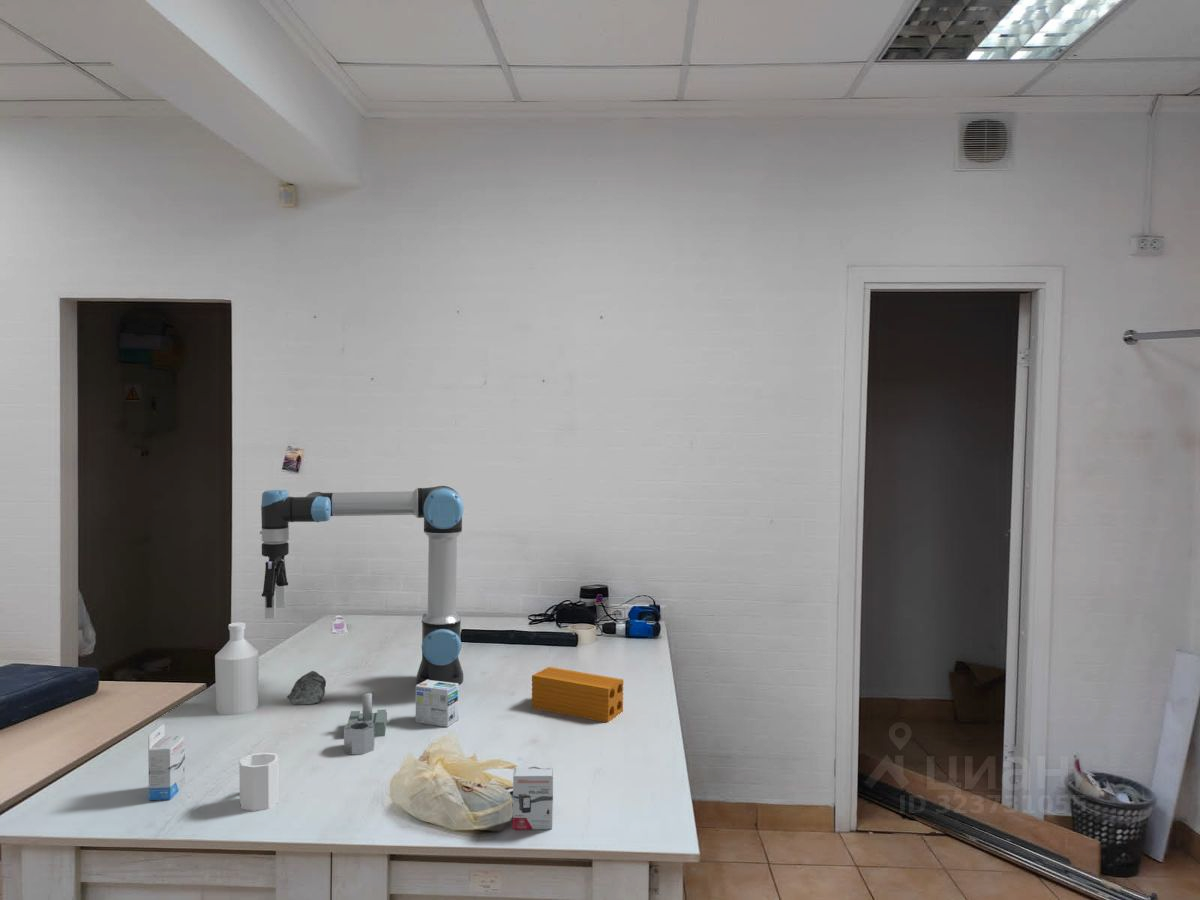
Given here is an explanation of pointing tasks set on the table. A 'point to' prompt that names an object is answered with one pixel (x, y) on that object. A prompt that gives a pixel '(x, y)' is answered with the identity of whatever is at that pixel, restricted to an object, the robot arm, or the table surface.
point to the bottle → (236, 674)
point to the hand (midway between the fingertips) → (275, 612)
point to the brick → (577, 694)
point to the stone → (308, 689)
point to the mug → (259, 781)
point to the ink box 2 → (532, 797)
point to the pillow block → (370, 716)
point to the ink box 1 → (165, 764)
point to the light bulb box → (437, 703)
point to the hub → (359, 737)
